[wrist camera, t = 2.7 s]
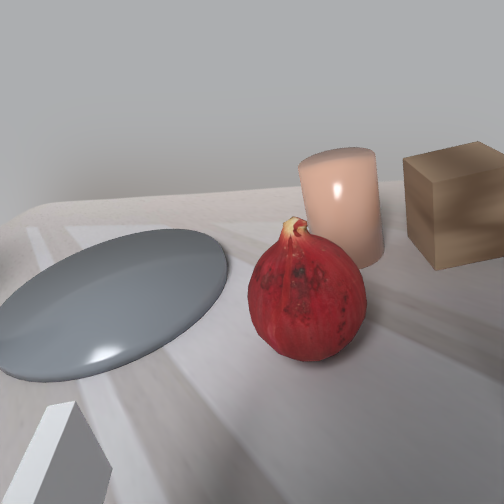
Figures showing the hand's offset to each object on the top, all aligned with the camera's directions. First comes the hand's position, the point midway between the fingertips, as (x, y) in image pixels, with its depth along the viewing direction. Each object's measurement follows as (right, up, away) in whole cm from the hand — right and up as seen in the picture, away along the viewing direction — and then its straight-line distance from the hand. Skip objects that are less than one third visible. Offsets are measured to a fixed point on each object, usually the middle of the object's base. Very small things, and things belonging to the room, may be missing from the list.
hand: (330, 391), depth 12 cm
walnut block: (+12, +4, +19) cm, 22 cm away
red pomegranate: (+2, -2, +12) cm, 13 cm away
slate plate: (-13, 0, +23) cm, 26 cm away
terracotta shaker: (+5, +4, +21) cm, 22 cm away
